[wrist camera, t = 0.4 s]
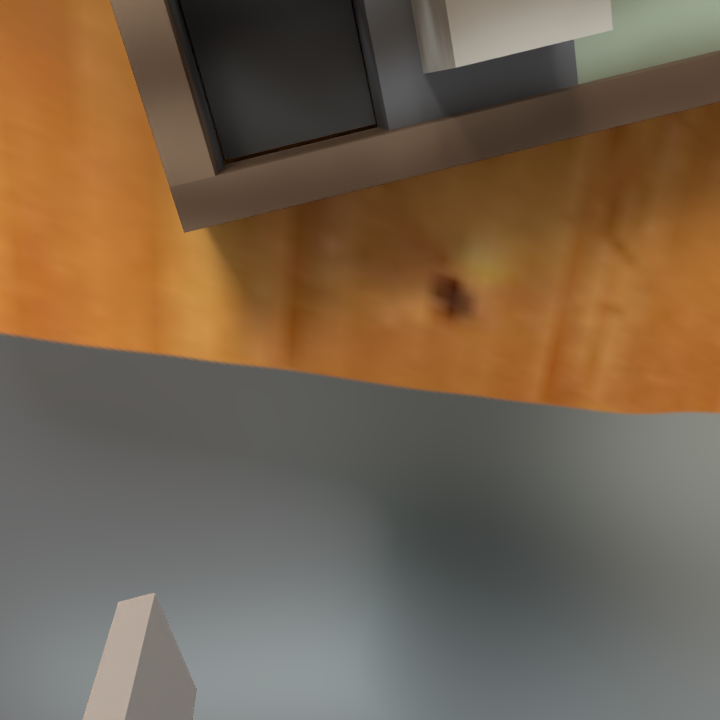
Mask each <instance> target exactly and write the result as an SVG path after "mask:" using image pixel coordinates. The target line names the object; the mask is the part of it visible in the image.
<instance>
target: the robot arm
mask: <svg viewBox="0 0 720 720" xmlns="http://www.w3.org/2000/svg"><path fill="white" fill-rule="evenodd" d="M195 697H196V687H195V685H194V682H193V680H192V678H191V675H190V673H189V671H188V668H187V666H186V664H185V662H184V659H183V657H182V654H181V652H180V650H179V647H178V645H177V643H176V640H175V638H174V636H173V633H172V631H171V629H170V627H169V624H168V622H167V619H166V617H165V615H164V612H163V610H162V608H161V605H160V603H159V601H158V598H157V596H156V594H155V593H151V594H148V595H144V596H140V597H136V598H132V599H128V600H124V601H121V602H118V605H117V609H116V612H115V615H114V619H113V622H112V625H111V628H110V631H109V635H108V638H107V642H106V645H105V648H104V652H103V655H102V658H101V661H100V664H99V668H98V671H97V674H96V677H95V681H94V684H93V687H92V691H91V694H90V697H89V701H88V704H87V707H86V710H85V714H84V717H83V720H193V713H194V705H195Z"/></svg>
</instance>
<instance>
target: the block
mask: <svg viewBox="0 0 720 720" xmlns="http://www.w3.org/2000/svg"><path fill="white" fill-rule="evenodd" d="M411 5H412V11H413V16H414V22H415V28H416V34H417V39H418V45H419V51H420V57H421V62H422V68H423V74H426V73H431V72H436V71H442V70H447V69H452V68H457V67H461V66H465V65H470V64H474V63H478V62H482V61H486V60H490V59H494V58H499V57H503V56H507V55H511V54H515V53H519V52H523V51H528V50H532V49H536V48H540V47H544V46H548V45H553V44H557V43H561V42H565V41H569V40H573V39H577V38H582V37H586V36H590V35H594V34H598V33H602V32H606V31H611V30H613V25H612V12H611V0H411Z"/></svg>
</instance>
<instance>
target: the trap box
mask: <svg viewBox="0 0 720 720" xmlns="http://www.w3.org/2000/svg"><path fill="white" fill-rule="evenodd" d="M110 2H111V5H112V8H113V11H114V14H115V18H116V21H117V24H118V27H119V30H120V33H121V36H122V39H123V43H124V46H125V49H126V52H127V55H128V58H129V61H130V64H131V68H132V71H133V74H134V77H135V80H136V83H137V86H138V90H139V93H140V96H141V99H142V102H143V105H144V108H145V111H146V115H147V118H148V121H149V124H150V127H151V130H152V133H153V136H154V140H155V143H156V146H157V149H158V152H159V155H160V158H161V161H162V165H163V168H164V171H165V174H166V177H167V180H168V183H169V186H170V190H171V193H172V196H173V199H174V202H175V205H176V208H177V211H178V215H179V218H180V221H181V224H182V227H183V230H184V233H185V232H189V231H193V230H197V229H201V228H205V227H209V226H214V225H218V224H222V223H226V222H230V221H234V220H238V219H242V218H246V217H250V216H254V215H258V214H263V213H267V212H271V211H275V210H279V209H283V208H287V207H291V206H295V205H299V204H303V203H307V202H312V201H316V200H320V199H324V198H328V197H332V196H336V195H340V194H344V193H348V192H352V191H356V190H361V189H365V188H369V187H373V186H377V185H381V184H385V183H389V182H393V181H397V180H401V179H405V178H410V177H414V176H418V175H422V174H426V173H430V172H434V171H438V170H442V169H446V168H450V167H454V166H459V165H463V164H467V163H471V162H475V161H479V160H483V159H487V158H491V157H495V156H499V155H504V154H508V153H512V152H516V151H520V150H524V149H528V148H532V147H536V146H540V145H544V144H548V143H553V142H557V141H561V140H565V139H569V138H573V137H577V136H581V135H585V134H589V133H593V132H597V131H602V130H606V129H610V128H614V127H618V126H622V125H626V124H630V123H634V122H638V121H642V120H646V119H651V118H655V117H659V116H663V115H667V114H671V113H675V112H679V111H683V110H687V109H691V108H695V107H700V106H704V105H708V104H712V103H716V102H720V0H611V12H612V25H613V30H611V31H606V32H602V33H598V34H594V35H590V36H586V37H582V38H577V39H573V40H569V41H565V42H561V43H557V44H553V45H548V46H544V47H540V48H536V49H532V50H528V51H523V52H519V53H515V54H511V55H507V56H503V57H499V58H494V59H490V60H486V61H482V62H478V63H474V64H470V65H465V66H461V67H457V68H452V69H447V70H442V71H436V72H431V73H426V74H423V68H422V62H421V57H420V51H419V45H418V39H417V34H416V28H415V22H414V16H413V11H412V5H411V0H352V4H353V9H354V14H355V19H356V24H357V29H358V34H359V39H360V44H361V49H362V54H363V59H364V63H365V68H366V73H367V78H368V83H369V88H370V93H371V98H372V103H373V108H374V113H375V118H376V123H377V127H376V128H372V129H368V130H364V131H360V132H356V133H352V134H348V135H343V136H339V137H335V138H331V139H327V140H323V141H319V142H315V143H311V144H306V145H302V146H298V147H294V148H290V149H286V150H282V151H278V152H273V153H269V154H265V155H261V156H257V157H253V158H249V159H245V160H240V161H236V162H232V163H228V164H225V162H224V159H223V155H222V152H221V148H220V145H219V141H218V138H217V134H216V131H215V127H214V124H213V120H212V117H211V113H210V110H209V106H208V103H207V99H206V96H205V92H204V89H203V85H202V82H201V78H200V75H199V71H198V68H197V64H196V61H195V57H194V54H193V50H192V47H191V43H190V40H189V37H188V33H187V30H186V26H185V23H184V19H183V16H182V12H181V9H180V5H179V2H178V0H110ZM180 4H181V7H182V11H183V14H184V18H185V21H186V25H187V28H188V32H189V35H190V39H191V42H192V46H193V49H194V53H195V56H196V60H197V63H198V67H199V70H200V74H201V77H202V81H203V84H204V87H205V91H206V94H207V98H208V101H209V105H210V108H211V112H212V115H213V119H214V122H215V126H216V129H217V133H218V136H219V140H220V143H221V147H222V150H223V154H224V157H225V160H229V159H233V158H237V157H241V156H246V155H250V154H254V153H258V152H262V151H266V150H270V149H274V148H279V147H283V146H287V145H291V144H295V143H299V142H303V141H307V140H312V139H316V138H320V137H324V136H328V135H332V134H336V133H340V132H345V131H349V130H353V129H357V128H361V127H365V126H369V125H373V124H376V123H375V118H374V113H373V108H372V103H371V98H370V93H369V88H368V83H367V78H366V73H365V69H364V64H363V59H362V54H361V49H360V44H359V39H358V34H357V29H356V24H355V19H354V14H353V9H352V5H351V0H180Z"/></svg>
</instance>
